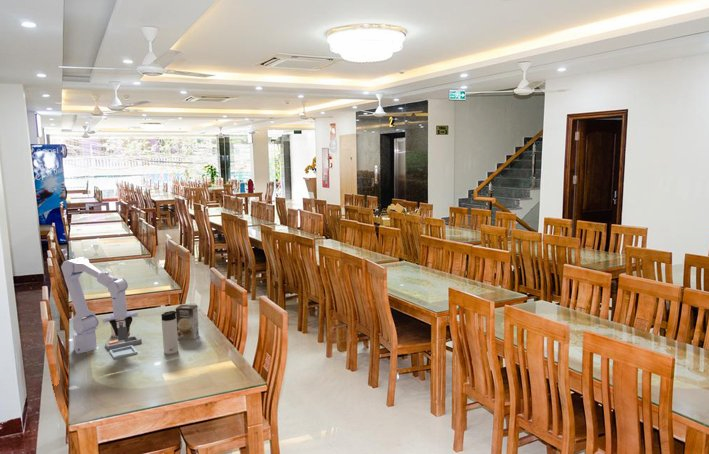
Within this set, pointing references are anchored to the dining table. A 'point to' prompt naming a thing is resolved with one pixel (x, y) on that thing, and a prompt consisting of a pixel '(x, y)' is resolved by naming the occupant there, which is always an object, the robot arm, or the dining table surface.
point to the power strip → (123, 342)
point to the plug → (122, 331)
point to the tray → (123, 352)
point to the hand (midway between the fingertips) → (121, 334)
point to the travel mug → (169, 333)
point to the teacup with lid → (117, 325)
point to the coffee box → (187, 322)
